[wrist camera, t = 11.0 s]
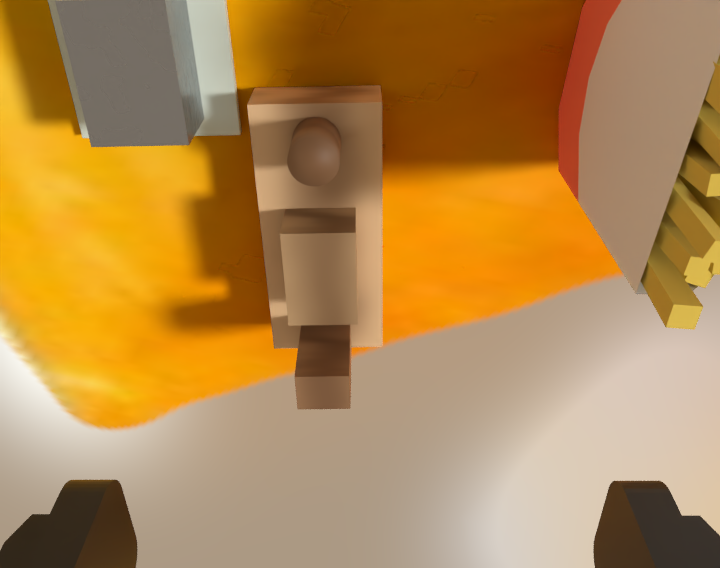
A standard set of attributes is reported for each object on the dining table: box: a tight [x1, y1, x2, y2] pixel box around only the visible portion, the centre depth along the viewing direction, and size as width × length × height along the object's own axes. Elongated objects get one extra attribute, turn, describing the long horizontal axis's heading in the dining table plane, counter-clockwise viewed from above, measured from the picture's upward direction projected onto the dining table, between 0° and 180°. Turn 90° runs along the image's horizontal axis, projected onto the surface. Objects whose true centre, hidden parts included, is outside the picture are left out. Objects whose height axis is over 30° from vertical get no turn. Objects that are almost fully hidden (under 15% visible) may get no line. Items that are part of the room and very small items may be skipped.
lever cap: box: [55, 0, 204, 147], centre depth 34 cm, size 5×7×4 cm
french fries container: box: [559, 0, 720, 329], centre depth 29 cm, size 5×11×18 cm, turn 176°
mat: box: [48, 0, 242, 138], centre depth 36 cm, size 9×9×1 cm
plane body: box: [247, 85, 382, 409], centre depth 38 cm, size 7×16×9 cm, turn 1°
